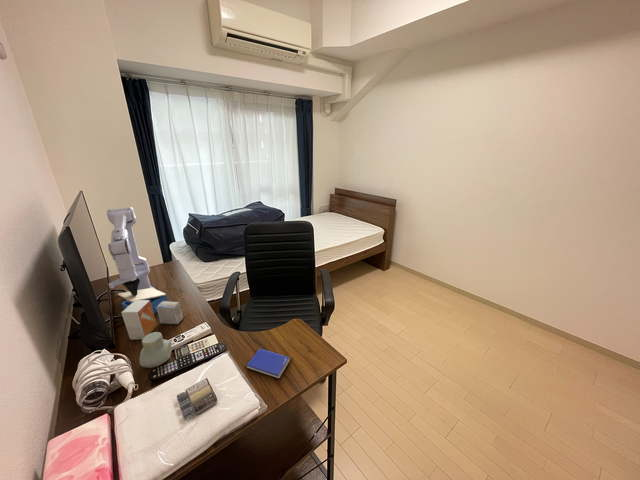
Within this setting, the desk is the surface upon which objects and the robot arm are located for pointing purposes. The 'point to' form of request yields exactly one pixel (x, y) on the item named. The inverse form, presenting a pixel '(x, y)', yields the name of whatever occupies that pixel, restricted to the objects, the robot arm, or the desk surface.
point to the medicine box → (169, 312)
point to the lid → (142, 294)
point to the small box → (139, 319)
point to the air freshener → (154, 350)
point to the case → (154, 301)
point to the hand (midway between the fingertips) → (134, 294)
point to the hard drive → (268, 363)
